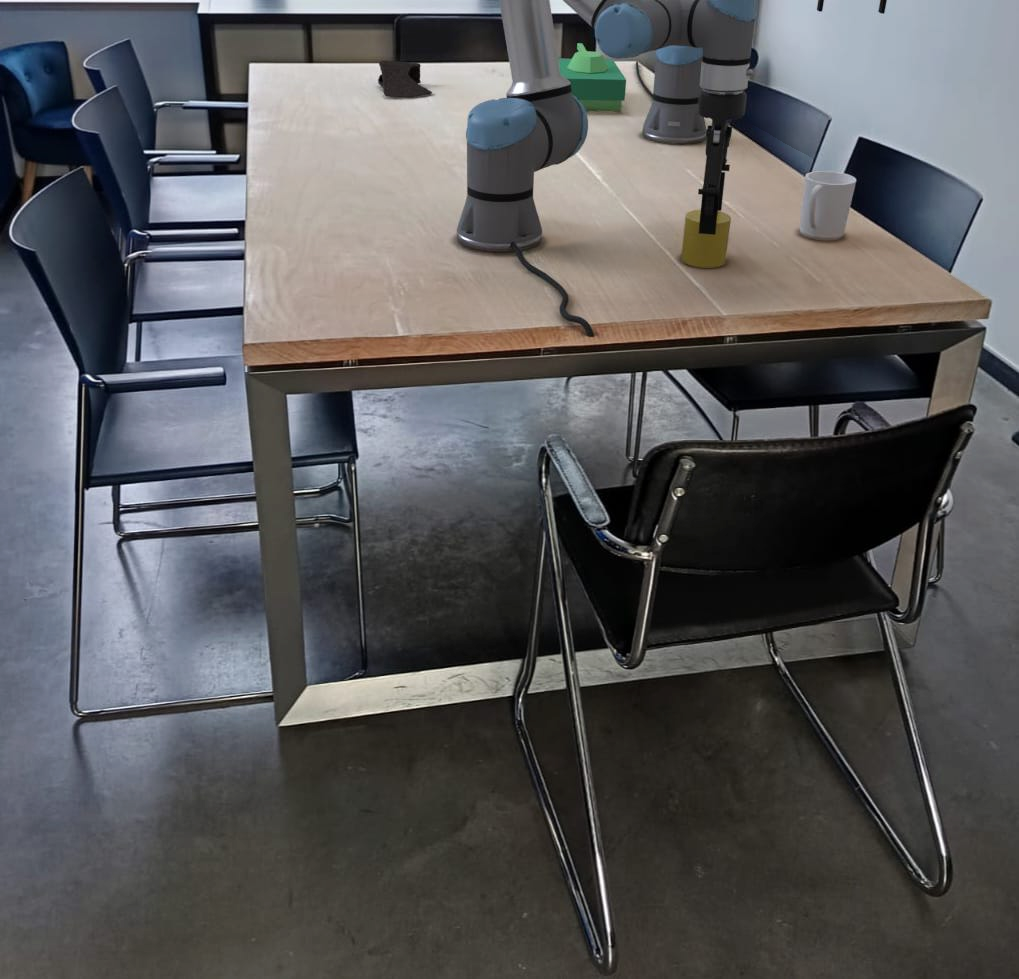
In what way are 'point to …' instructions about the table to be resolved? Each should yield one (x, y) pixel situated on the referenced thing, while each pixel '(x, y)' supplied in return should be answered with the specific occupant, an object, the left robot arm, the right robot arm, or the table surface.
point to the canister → (705, 241)
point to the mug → (826, 204)
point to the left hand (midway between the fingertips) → (710, 221)
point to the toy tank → (594, 80)
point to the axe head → (401, 79)
